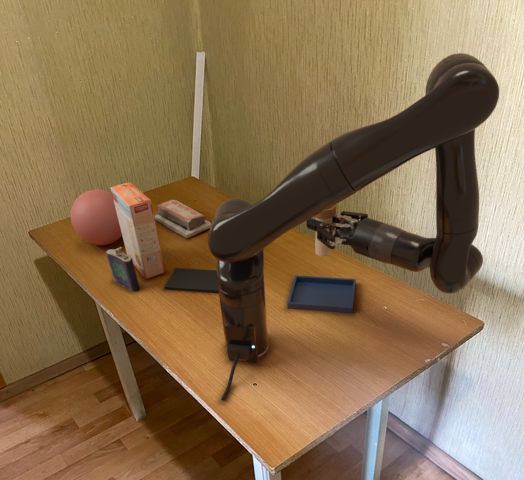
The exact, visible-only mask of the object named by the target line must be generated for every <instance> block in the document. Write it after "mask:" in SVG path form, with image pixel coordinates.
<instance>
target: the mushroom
mask: <svg viewBox="0 0 524 480" xmlns="http://www.w3.org/2000/svg"><path fill="white" fill-rule="evenodd" d="M336 214H337V204H335V205H333V206H331V207H329V208H328V209H326V210H324V211H322V212H321V213H319V214H317V215H315V216H314V217H313V218H315V220H318V221H321V222H322V223H328V224H331V223H332V217H334V216H335V215H336ZM325 230H327V231H328V232H329V229H328V228H325ZM314 238H315V241H314V242H315V243H314V244H315V245H314V249H315V250H314V253H315V255H317V256H319V257H328V256H330V255H331V254H332V249H330V248H328V247H327V246H326V245H324V244H323V243H322V242H321V241H319V240H318V239H317V231H315V235H314Z"/></svg>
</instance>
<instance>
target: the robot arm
mask: <svg viewBox="0 0 524 480" xmlns="http://www.w3.org/2000/svg"><path fill="white" fill-rule="evenodd" d="M424 92H425V95H424V96H422V97H421V98H419V99H418V100H417V101H415V102H414V103H412V104H410V105H409V106H408V107H406V108H405V109H403V110H402V111H400V112H399V113H396V114H395V115H393V116H391V117H389V118H386V119H384V120H381V121H377V122H375V123H372V124H368V125H365V126H361V127H358V128H355V129H352V130H350V131H347V132H344V133H342V134H339V135H338V136H336V137H334V138H332V139H330V140H329V141H328V142H326V143H325V144H322V146H320V147H318V148H317V149H315V150H313V152H311V153H310V154H308V155H307V156H305V158H303V159H302V160H301V161H299V162H298V163H297V164H296V165H295V166H294V167H293V168H292V169H291V170H290V171H289V172H288V173H287V175H285V177H284V178H282V180H280V182H279V183H278V184H276V186H275V187H274V188H273V189H272V190H271V191H270V192H269V193H267V194H265V196H264V197H262V198H261V199H260V200H257V201H256V202H254V203H252V202H250V201H249V200H246V199H243V198H239V197H238V198H237V197H235V198H230V199H229V198H228V199H227V200H224V201H223V202H222V203H220V204H219V205H218V207H216V209H215V211H214V213H213V216H212V219H211V222H210V223H211V226H210V228H209V230H208V235H207V243H208V249H209V251H210V253H211V255H212V256H213V257H214V258H215V259H216V270H217V272H216V275H217V283H218V290H219V293H218V296H219V305H220V311H221V312H220V313H221V320H222V321H221V322H222V327H223V335H224V342H225V352H226V354H227V358H228V360H229V361H232V362H233V364H232V366H231V369H230V373H229V376H228V377H229V378H228V382H227V384H226V388H225V390H224V392H223V394H222V396H221V398H220V400H221V401H223V402H225V400H226V398H227V396H228V394H229V392H230V389H231V386H232V384H233V379H234V375H235V371H236V368H237V365H238V362H243V363H253V364H254V363H255V364H257V363H258V361H259V360H260V359H261V358H263V357H265V355H267V353H268V351H269V349H270V343H269V334H268V320H267V305H266V289H265V286H266V285H265V250H264V249H265V248H266V247H268V246H269V245H270V244H272V243H273V242H275V241H277V239H278V238H279V239H280V238H281V237H282V236H283V235H284V234H286V233H288V232H289V231H291V230H292V229H295V228H296V227H298V226H299V225H301V224H304V223H305V222H306V228H307V229H309V230H311V231H314V232H316V231H317V239H318V240H319V241H321V242H322V243H323V244H324V245H326V246H327V247H328V248H330V249H331V250H335V249H336V245H339V244H341V245H342V246H350V248H351V249H352V250H353V252H354V253H355V254H358V255H361V256H363V257H366V258H369V259H372V260H374V261H377V262H380V263H383V264H387V265H392V266H394V267H395V266H396V267H398V268H400V269H403V270H406V271H409V272H412V273H419V272H422V271H424V270H426V269H428V268H429V275H430V279H431V282H432V284H433V285H434V287H435V288H436V290H438V291H439V292H441V293H444V294H448V295H452V294H457V293H459V292H461V291H462V290H464V289H465V288H466V286H467V285H468V284H469V283H470V282H471V281H472V280H473V278H474V277H475V276H476V275H477V274H478V273H479V271H480V270H481V269H482V266H483V264H484V256H483V254H482V252H481V251H480V249H478V248H477V246H476V245H474V244H473V243H474V241H475V240H476V237H477V235H478V233H479V232H478V231H479V222H480V221H479V218H480V188H479V179H478V170H477V160H476V146H475V145H476V142H475V141H476V140H475V137H476V129H477V128H479V127H480V126H481V125H483V124H484V123H485V122H486V121H487V120H488V119H489V118H490V117H491V115H492V114H493V113H494V111H495V109H496V107H497V105H498V103H499V98H500V86H499V83H498V80H497V79H496V77H495V76H494V74H493V73H492V72H491V71H490V69H488V68H487V66H486V65H485V64H484V63H483V62H482V61H481V60H479V59H478V58H477V57H475V56H474V55H471V54H468V53H464V52H463V53H462V52H457V53H453V54H452V53H451V54H449V55H447V56H446V57H444V58H442V59H441V60H439V62H438V63H436V65H435V66H434V67H433V68H432V70H431V72H430V73H429V75H428V77H427V80H426V84H425V91H424ZM431 150H434V152H435V173H436V174H435V228H436V234H435V237H426V236H423V235H420V234H417V233H414V232H410V231H407V230H404V229H402V228H400V227H398V226H396V225H393V224H389V223H387V222H383V221H380V220H376V219H374V218H371V217H369V214H368V213H363V212H355V211H345V210H342V211H340V213H336V215H335V216H334V217H332V223H331V224H328V223H322V222H321V221H318V220H316V218H315V217H314V216H315V215H317V214H319V213H321V212H322V211H324V210H326V209H328V208H329V207H331V206H333V205H335V204H336V205H337V204H339V203H341V202H343V201H344V200H346V199H348V198H349V197H351V196H352V195H355V194H357V193H358V192H360V191H361V190H363V189H364V188H366V187H367V186H369V185H370V184H372V183H375V182H376V181H377V180H379V179H381V178H383V177H384V176H386V175H388V174H389V173H392V172H393V171H395V170H397V169H398V168H400V167H402V166H403V165H404V164H406V163H408V162H410V161H411V160H413V159H415V158H417V157H419V156H421V155H423V154H426V153H427V152H429V151H431ZM325 228H328V229H329V232H328V231H327V230H325Z"/></svg>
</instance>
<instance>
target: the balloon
mask: <svg viewBox="0 0 524 480" xmlns="http://www.w3.org/2000/svg"><path fill="white" fill-rule="evenodd" d="M70 222H71V226H72V228H73V230H74V232H75V233H76V234H77V236H78V237H80V239H82V241H85V242H86V243H88V244H91V245H95V246H107V245H110V244H113V243H114V242H117V241H118V240H119V239H120V238H121V237H123V236H122V232H121V228H120V224H119V220H118V216H117V212H116V208H115V204H114V200H113V196H112V192H109V190H104V189H98V188H97V189H90V190H86V191H83V192H82V193H80V194H79V195H78V196H77V197H76V199H75V200H74V201H73V203H72V205H71V208H70Z"/></svg>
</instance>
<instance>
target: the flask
mask: <svg viewBox="0 0 524 480" xmlns="http://www.w3.org/2000/svg"><path fill="white" fill-rule="evenodd" d="M122 249H123V247H122V246H118V247H117V248H115V249H114V248H112V249H108V250H106V251H105V255H106V258H107V262H108V264H109V268H110V272H111V275H112V279H113V281H114V283H115V284H117V285H120V286H121V287H123V288H126V289H128V290H129V291H131V292H139V291H140V290H141V286H140V283H139V279H138V276H137V272H136V269H135V268H136V267H135V266H134V264H133V260H132V258H131V257H129V256H128V255H127V253H126V252H124V251H122Z"/></svg>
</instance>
